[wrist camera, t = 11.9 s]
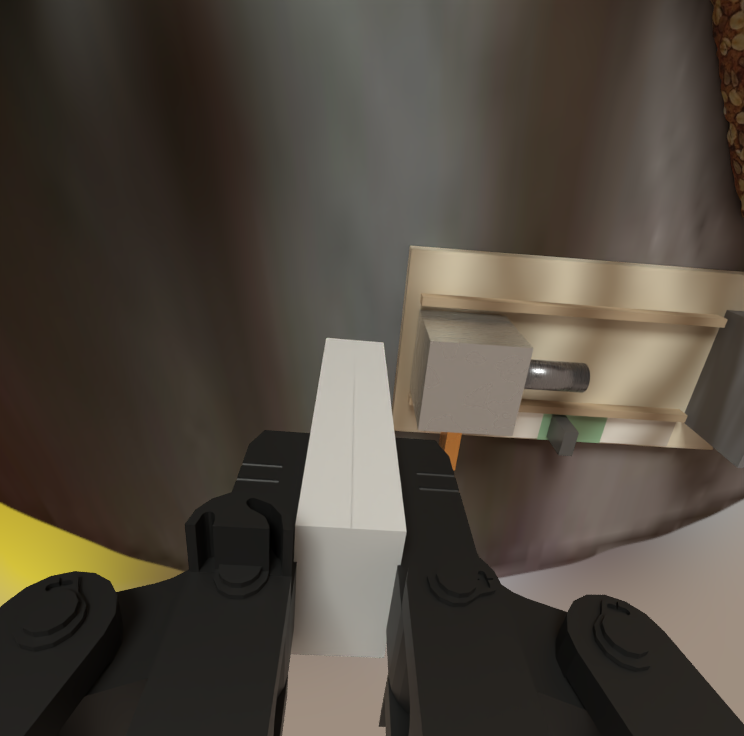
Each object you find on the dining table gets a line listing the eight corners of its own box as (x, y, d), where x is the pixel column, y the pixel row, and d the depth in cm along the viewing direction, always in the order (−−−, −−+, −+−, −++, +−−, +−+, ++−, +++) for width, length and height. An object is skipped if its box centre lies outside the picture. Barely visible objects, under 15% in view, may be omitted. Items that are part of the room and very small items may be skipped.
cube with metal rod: (402, 440, 36) (409, 490, 31) (419, 309, 32) (430, 341, 27) (540, 448, 37) (571, 499, 31) (575, 320, 32) (617, 353, 27)
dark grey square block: (546, 436, 36) (558, 455, 34) (552, 414, 36) (565, 432, 33) (558, 437, 36) (571, 456, 34) (565, 415, 36) (579, 432, 33)
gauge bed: (390, 422, 37) (395, 479, 31) (409, 245, 32) (421, 269, 25) (702, 441, 39) (771, 500, 32) (776, 274, 33) (879, 304, 26)
